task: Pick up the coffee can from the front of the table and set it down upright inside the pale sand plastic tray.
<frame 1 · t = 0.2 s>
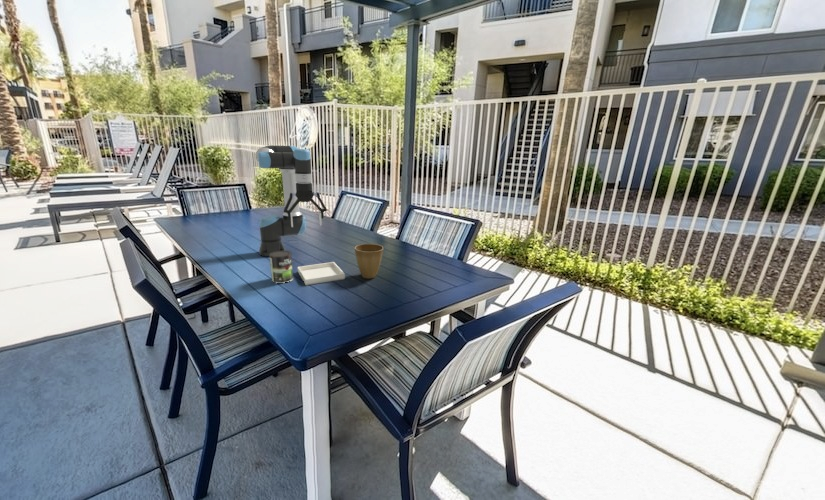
hand: (306, 225, 169), 28 cm above the table, tool pointing down, fingers open, 13 cm apart
coffee can: (282, 280, 173), on the table
plant pot: (369, 276, 182), on the table
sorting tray: (321, 275, 180), on the table
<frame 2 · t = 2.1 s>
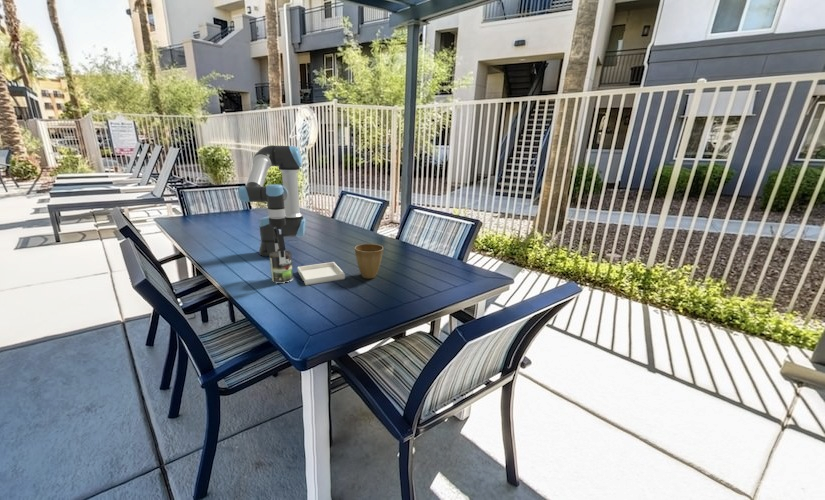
hand: (280, 259, 170), 11 cm above the table, tool pointing down, fingers open, 13 cm apart
nothing on the table moved.
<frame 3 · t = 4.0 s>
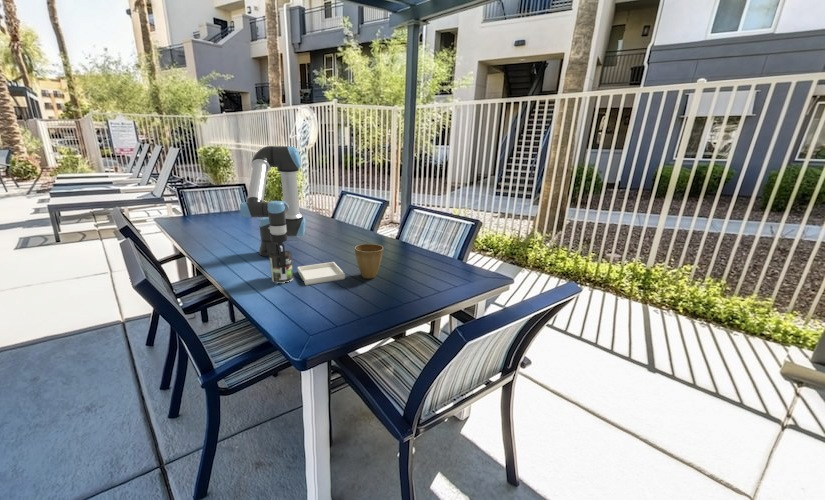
hand: (282, 275, 173), 2 cm above the table, tool pointing down, fingers closed on coffee can, 10 cm apart
coffee can: (282, 280, 173), on the table, touching gripper
everything else where it was.
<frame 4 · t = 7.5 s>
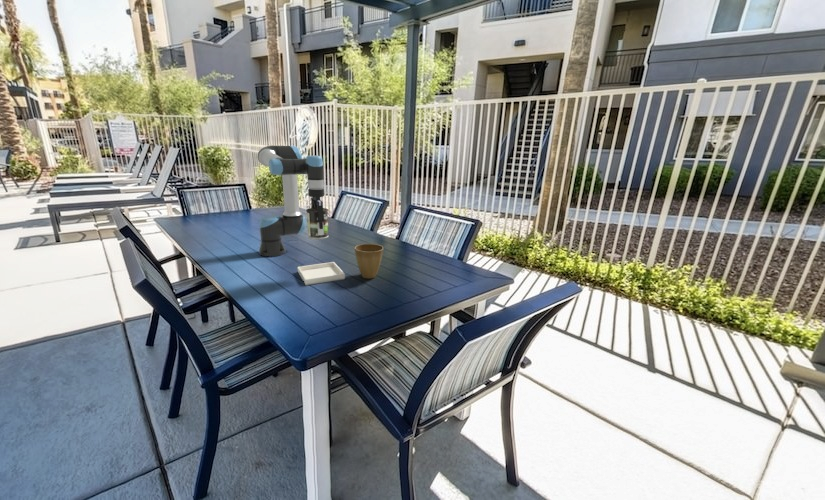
hand: (318, 232, 173), 24 cm above the table, tool pointing down, fingers closed on coffee can, 10 cm apart
coffee can: (318, 237, 174), point 21 cm above the table, touching gripper
everything else where it was.
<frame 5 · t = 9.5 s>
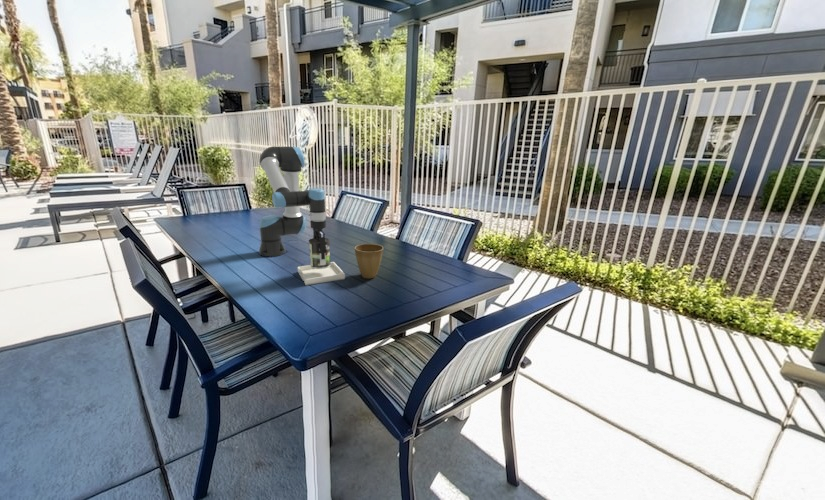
hand: (320, 261, 178), 8 cm above the table, tool pointing down, fingers closed on coffee can, 10 cm apart
coffee can: (320, 266, 179), point 5 cm above the table, touching gripper
everything else where it was.
when the fingers open (5 cm above the table, at t = 11.1 s): coffee can drops 2 cm, resting on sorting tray.
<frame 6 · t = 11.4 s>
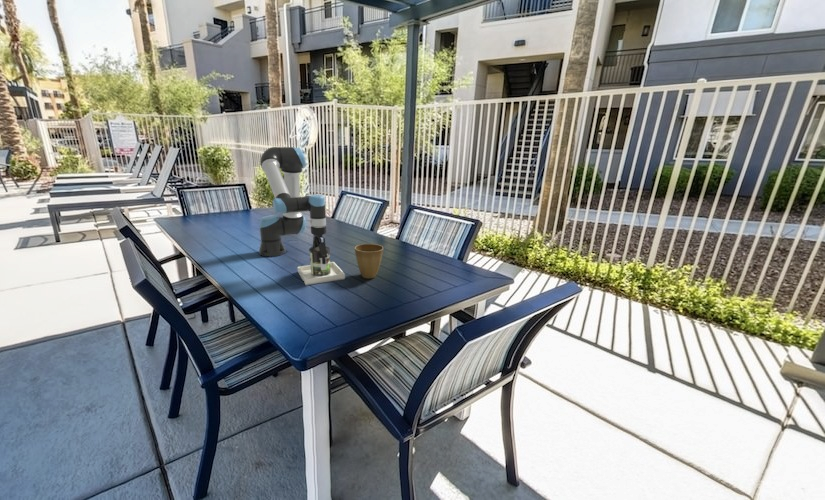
hand: (320, 265, 179), 6 cm above the table, tool pointing down, fingers open, 13 cm apart
coffee can: (320, 274, 180), point 1 cm above the table, touching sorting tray
everything else where it was.
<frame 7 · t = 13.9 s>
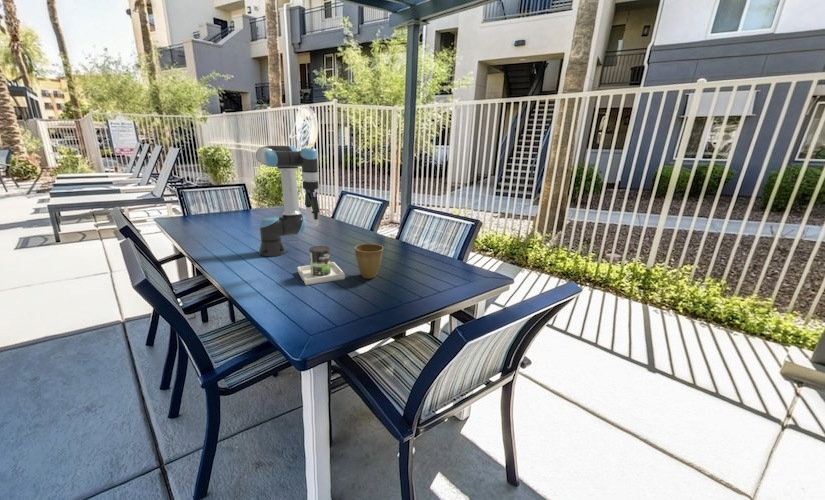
hand: (312, 222, 175), 28 cm above the table, tool pointing down, fingers open, 13 cm apart
nothing on the table moved.
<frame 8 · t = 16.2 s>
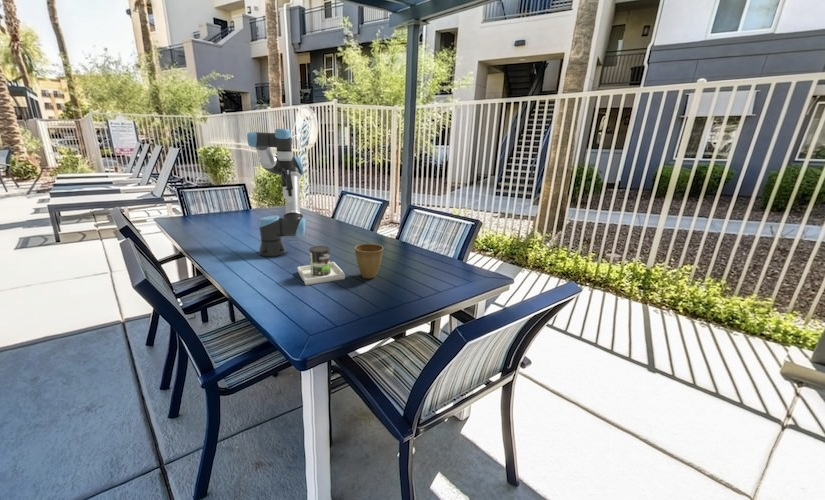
hand: (288, 200, 185), 37 cm above the table, tool pointing down, fingers open, 13 cm apart
nothing on the table moved.
at the end: coffee can inside the target area on the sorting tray (0.1 cm from its centre), point 0.6 cm above the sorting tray's base; coffee can tilted 0°; the gripper is holding nothing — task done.
